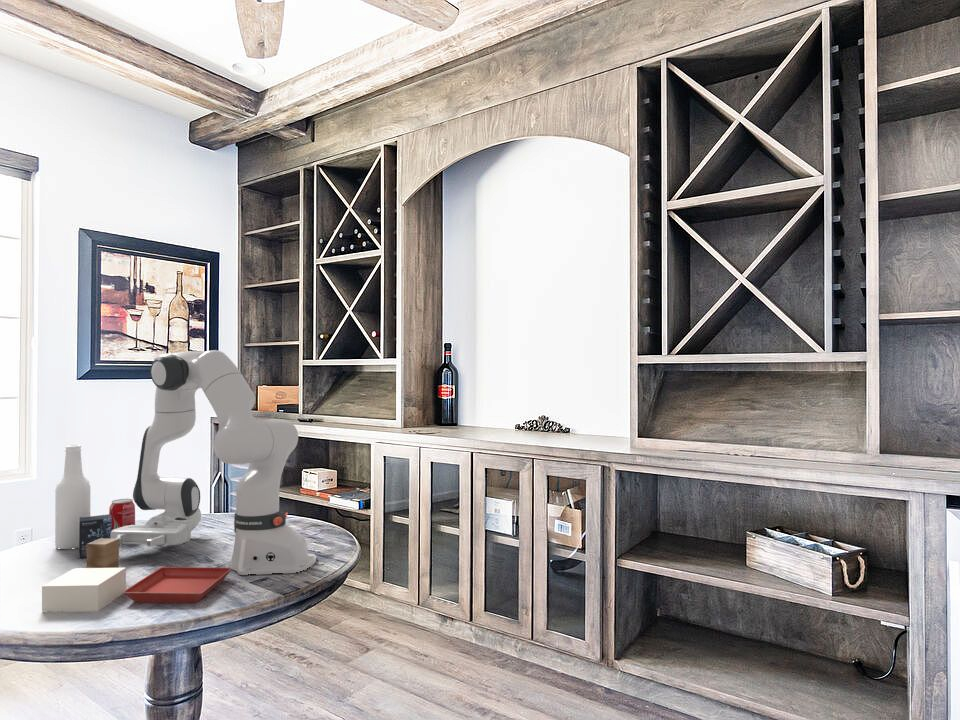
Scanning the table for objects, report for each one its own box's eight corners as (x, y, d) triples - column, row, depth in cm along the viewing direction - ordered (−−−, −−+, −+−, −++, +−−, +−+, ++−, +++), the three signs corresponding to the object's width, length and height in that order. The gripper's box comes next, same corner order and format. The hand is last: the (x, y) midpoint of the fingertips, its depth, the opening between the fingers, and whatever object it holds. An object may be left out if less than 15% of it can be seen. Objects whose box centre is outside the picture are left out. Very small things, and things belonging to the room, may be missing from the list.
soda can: (110, 537, 198) (110, 499, 198) (135, 535, 201) (135, 497, 201) (107, 543, 192) (107, 504, 192) (134, 541, 195) (134, 501, 195)
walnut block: (118, 578, 161) (118, 538, 161) (105, 585, 156) (105, 544, 156) (100, 577, 162) (100, 538, 162) (86, 584, 157) (86, 543, 157)
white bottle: (60, 543, 192) (61, 444, 192) (93, 540, 195) (94, 443, 195) (50, 551, 184) (51, 448, 184) (85, 549, 186) (85, 446, 186)
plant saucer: (232, 579, 161) (232, 566, 161) (201, 607, 143) (201, 592, 143) (161, 579, 161) (161, 566, 161) (121, 607, 143) (121, 592, 143)
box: (79, 559, 177) (79, 521, 177) (78, 554, 181) (79, 517, 181) (111, 554, 181) (112, 517, 181) (110, 549, 186) (110, 513, 186)
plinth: (125, 592, 152) (125, 567, 152) (97, 612, 140) (97, 585, 140) (74, 593, 151) (74, 568, 151) (41, 613, 139) (41, 586, 139)
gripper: (128, 518, 186) (96, 530, 172) (195, 519, 184) (168, 532, 170) (128, 539, 185) (95, 553, 172) (195, 541, 184) (168, 555, 170)
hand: (132, 543), depth 171 cm, fingers open, 8 cm apart
